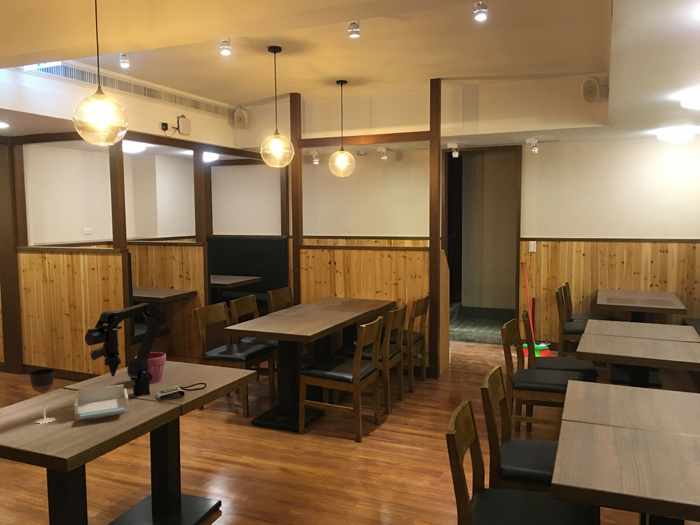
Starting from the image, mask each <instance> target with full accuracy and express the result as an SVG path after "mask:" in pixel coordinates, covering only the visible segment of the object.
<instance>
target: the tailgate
mask: <svg viewBox="0 0 700 525" xmlns="http://www.w3.org/2000/svg"><path fill="white" fill-rule="evenodd" d="M124 412H125V410H124V407H119V408H113V409H106V410H99V411H93V412H86V413H81V414H80V419H79V420H85V419H84V418H86V419H88V420H91V419H99V418H104V417H105V418H106V417H112V416H117V413H118V414H123V413H124ZM125 413H126V412H125Z"/></svg>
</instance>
